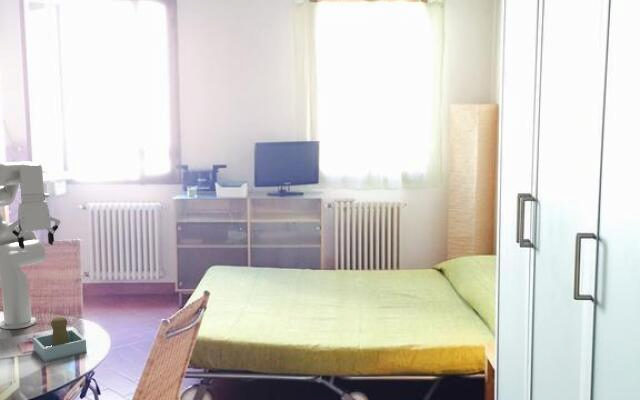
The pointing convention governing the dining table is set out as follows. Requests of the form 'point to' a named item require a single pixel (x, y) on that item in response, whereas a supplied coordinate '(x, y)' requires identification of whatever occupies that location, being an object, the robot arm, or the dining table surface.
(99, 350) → the dining table surface
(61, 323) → the cork
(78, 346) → the bin
